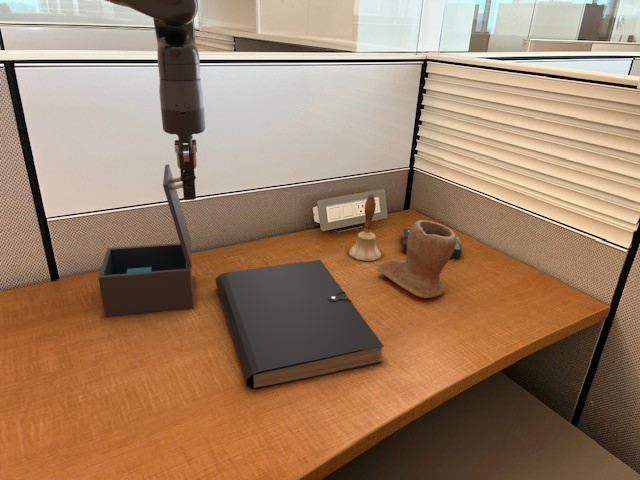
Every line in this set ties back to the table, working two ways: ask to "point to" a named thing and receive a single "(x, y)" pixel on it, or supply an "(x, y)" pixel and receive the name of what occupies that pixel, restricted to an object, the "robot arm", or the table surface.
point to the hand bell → (366, 237)
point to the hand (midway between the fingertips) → (189, 193)
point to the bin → (145, 280)
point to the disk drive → (455, 253)
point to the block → (139, 270)
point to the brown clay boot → (422, 259)
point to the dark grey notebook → (294, 324)
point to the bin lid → (177, 212)
